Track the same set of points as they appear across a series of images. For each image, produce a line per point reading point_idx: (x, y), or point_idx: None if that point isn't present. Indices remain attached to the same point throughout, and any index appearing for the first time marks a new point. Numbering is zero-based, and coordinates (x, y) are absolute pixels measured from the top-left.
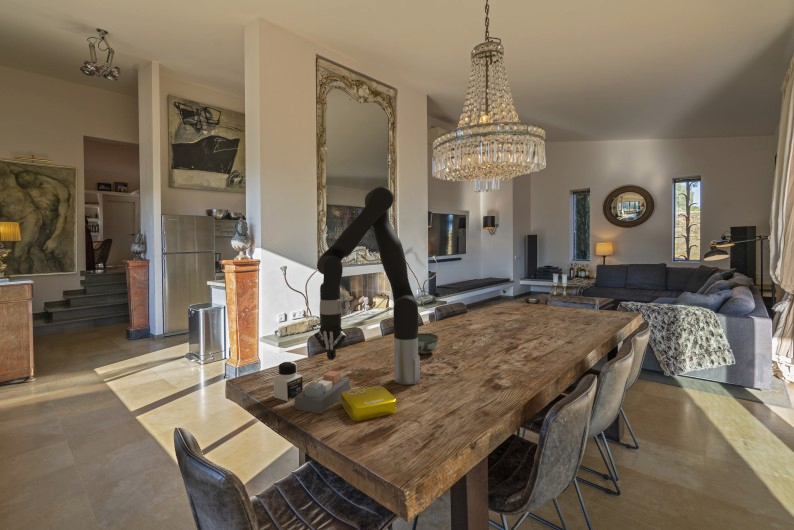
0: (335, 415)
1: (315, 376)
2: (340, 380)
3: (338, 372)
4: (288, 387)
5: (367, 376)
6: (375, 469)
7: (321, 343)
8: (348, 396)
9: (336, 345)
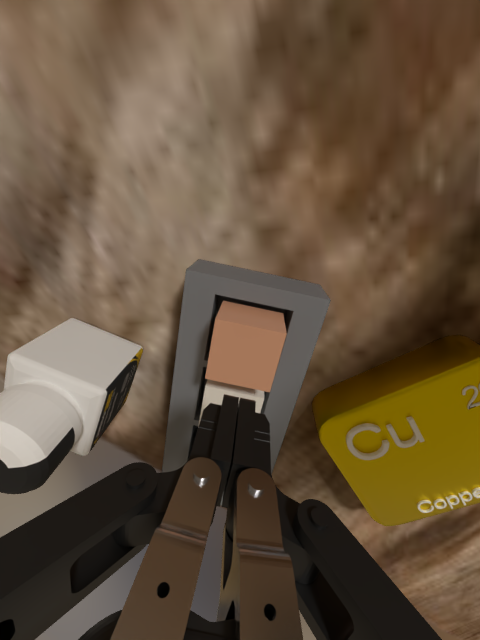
0: (308, 469)
1: (80, 108)
2: (281, 307)
3: (278, 341)
4: (101, 434)
5: (402, 53)
6: (422, 615)
7: (98, 559)
8: (352, 464)
9: (303, 592)
